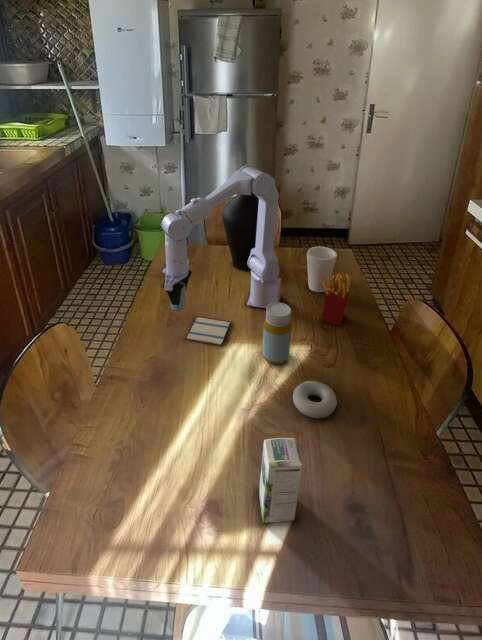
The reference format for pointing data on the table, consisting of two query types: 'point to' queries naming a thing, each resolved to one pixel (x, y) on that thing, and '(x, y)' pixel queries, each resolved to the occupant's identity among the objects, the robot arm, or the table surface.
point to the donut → (314, 408)
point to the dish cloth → (208, 330)
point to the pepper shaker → (181, 298)
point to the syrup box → (279, 479)
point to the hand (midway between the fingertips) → (178, 299)
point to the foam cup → (319, 267)
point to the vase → (241, 227)
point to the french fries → (335, 298)
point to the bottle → (276, 333)
